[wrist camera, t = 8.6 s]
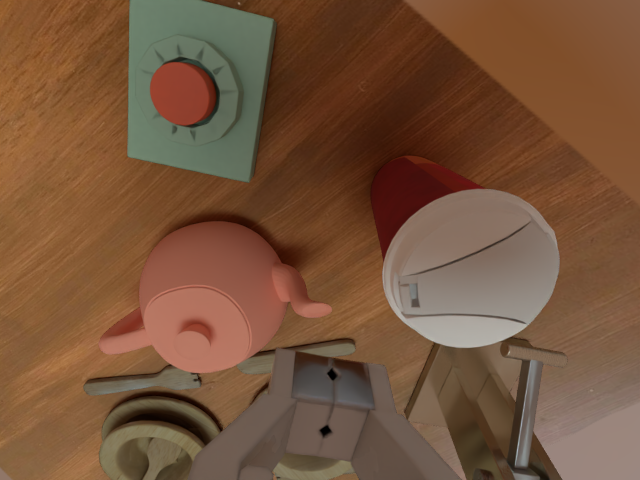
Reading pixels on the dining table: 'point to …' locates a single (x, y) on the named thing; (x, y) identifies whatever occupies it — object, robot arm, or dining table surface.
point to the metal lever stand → (475, 408)
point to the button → (182, 93)
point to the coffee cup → (460, 254)
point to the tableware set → (188, 425)
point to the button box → (222, 67)
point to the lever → (527, 402)
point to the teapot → (211, 298)
